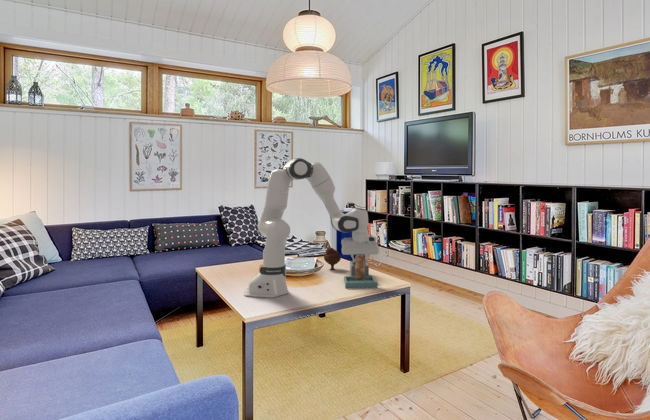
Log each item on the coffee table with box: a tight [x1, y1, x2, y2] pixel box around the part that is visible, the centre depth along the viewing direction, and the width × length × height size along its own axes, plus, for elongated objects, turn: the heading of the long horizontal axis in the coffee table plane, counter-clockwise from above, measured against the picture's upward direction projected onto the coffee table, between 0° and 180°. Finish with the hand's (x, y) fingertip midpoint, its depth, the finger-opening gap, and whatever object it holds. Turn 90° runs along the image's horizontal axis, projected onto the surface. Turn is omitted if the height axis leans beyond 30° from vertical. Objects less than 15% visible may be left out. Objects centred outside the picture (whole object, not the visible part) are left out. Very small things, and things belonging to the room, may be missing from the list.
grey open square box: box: [349, 261, 370, 276], centre depth 232 cm, size 10×10×8 cm
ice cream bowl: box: [323, 247, 342, 271], centre depth 248 cm, size 11×11×15 cm
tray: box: [343, 275, 378, 289], centre depth 218 cm, size 17×14×3 cm
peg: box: [355, 255, 366, 281], centre depth 217 cm, size 5×5×13 cm
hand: (360, 262), depth 217 cm, fingers closed on peg, 5 cm apart
